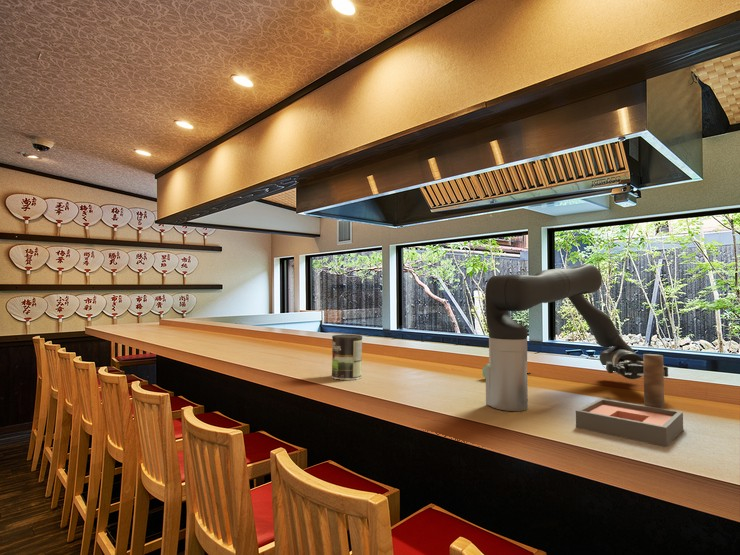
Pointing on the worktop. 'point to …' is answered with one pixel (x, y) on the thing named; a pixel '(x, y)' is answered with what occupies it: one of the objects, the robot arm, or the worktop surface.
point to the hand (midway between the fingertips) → (642, 372)
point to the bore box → (631, 421)
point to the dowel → (653, 380)
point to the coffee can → (346, 357)
